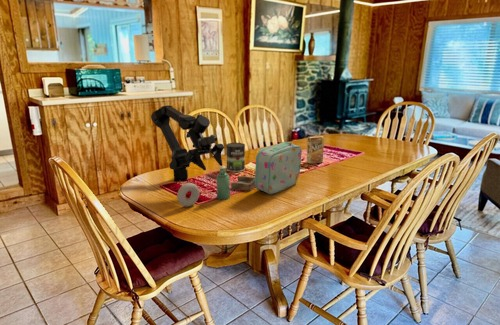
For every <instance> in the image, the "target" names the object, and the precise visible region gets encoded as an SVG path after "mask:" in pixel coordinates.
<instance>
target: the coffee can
mask: <svg viewBox="0 0 500 325" xmlns="http://www.w3.org/2000/svg"><path fill="white" fill-rule="evenodd" d="M225 147H226V149H225V150H226V171H227V172H231V173H238V172H239V173H240V172H244V171H245V170H246V169H245V168H246V165H245V164H246V163H245V162H246V160H245V159H246V156H245V155H246V154H245V153H246V152H245V151H246V148H245V147H246V143H242V142H229V143H226V144H225Z"/></svg>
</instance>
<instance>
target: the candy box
mask: <svg viewBox="0 0 500 325" xmlns="http://www.w3.org/2000/svg"><path fill="white" fill-rule="evenodd" d="M324 147H325V137H324V136H323V135H315V136H307V147H306V162H307V163H309V164H316V163H323V162H324Z"/></svg>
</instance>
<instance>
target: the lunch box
mask: <svg viewBox="0 0 500 325" xmlns="http://www.w3.org/2000/svg"><path fill="white" fill-rule="evenodd" d="M301 164H302V147H301V146H300V145H298V144H297V145H296V144H294V143H292V142H290V141H284V142H283V141H282V142H281V143H278V144H274V145H271V146H267V147H266V146H265V147H263V148H261V149H259V150H258V152H257V153H256V156H255V168H254V169H255V171H254V177H255V186H254V187H255V188H256V190H258V191H262V192H265V193H267V194H268V195H274V194H276V193H278V192H281V191H283V190H287V189H288V188H290V187H292V186H294V185H295V184H296V183H297V181H298V179H299V178H300V177H299V176H300V172H301Z"/></svg>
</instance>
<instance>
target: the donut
mask: <svg viewBox="0 0 500 325" xmlns="http://www.w3.org/2000/svg"><path fill="white" fill-rule="evenodd" d="M188 192H191V194H190V196H189V197H188V198H187V196H186V195H187V194H188ZM199 197H200V189H199V187H198V186H197V185H196V184H195V183H191V182H187V183H184V184H182V186H180V188H179V189H178V191H177V197H176V198H177V201H178V203H179V204H180V205H181V206H182V207H186V208H187V207H191V206H193V205H195V204H196V203H197V201H198V200H199Z"/></svg>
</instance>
